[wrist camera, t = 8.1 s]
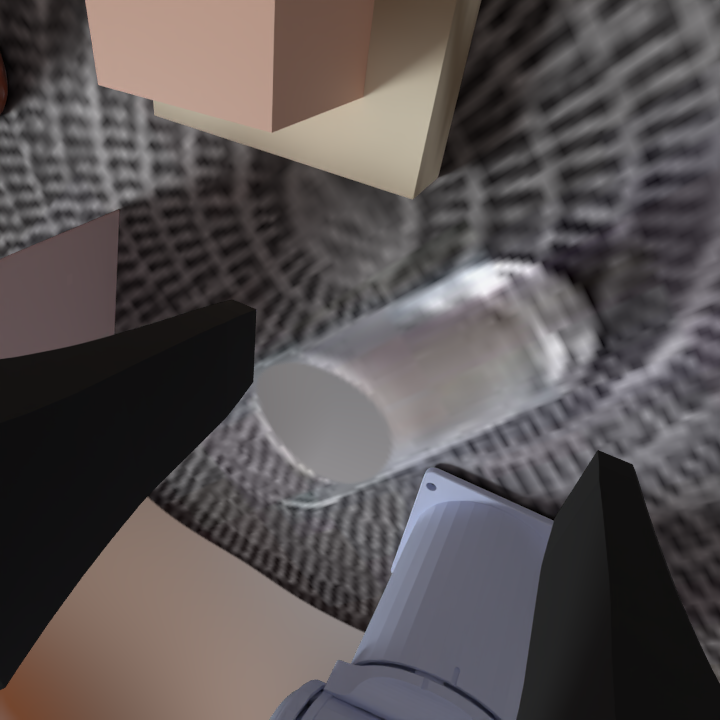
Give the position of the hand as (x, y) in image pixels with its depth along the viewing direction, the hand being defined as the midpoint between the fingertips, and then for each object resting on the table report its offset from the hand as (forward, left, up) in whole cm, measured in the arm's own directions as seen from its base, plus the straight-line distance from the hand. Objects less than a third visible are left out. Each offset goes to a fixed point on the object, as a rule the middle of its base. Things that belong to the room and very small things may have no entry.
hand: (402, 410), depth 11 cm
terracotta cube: (+6, +8, -8) cm, 13 cm away
